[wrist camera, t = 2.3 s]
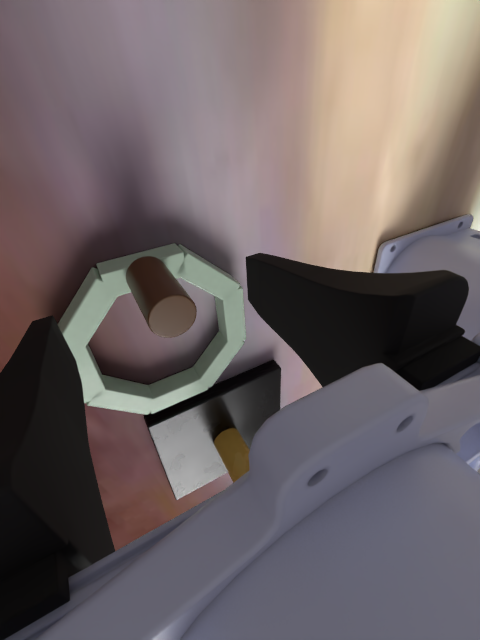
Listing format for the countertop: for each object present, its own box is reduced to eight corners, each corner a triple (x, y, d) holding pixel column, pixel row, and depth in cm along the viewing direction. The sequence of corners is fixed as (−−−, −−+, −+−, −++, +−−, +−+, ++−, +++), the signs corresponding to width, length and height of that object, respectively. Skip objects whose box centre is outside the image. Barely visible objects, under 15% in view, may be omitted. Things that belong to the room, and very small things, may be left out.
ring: (240, 361, 22) (279, 412, 18) (98, 420, 19) (113, 496, 15) (227, 222, 16) (282, 259, 13) (20, 275, 13) (17, 343, 10)
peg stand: (273, 359, 23) (334, 427, 19) (273, 435, 29) (320, 502, 24) (143, 415, 20) (177, 514, 16) (172, 489, 26) (203, 577, 21)
